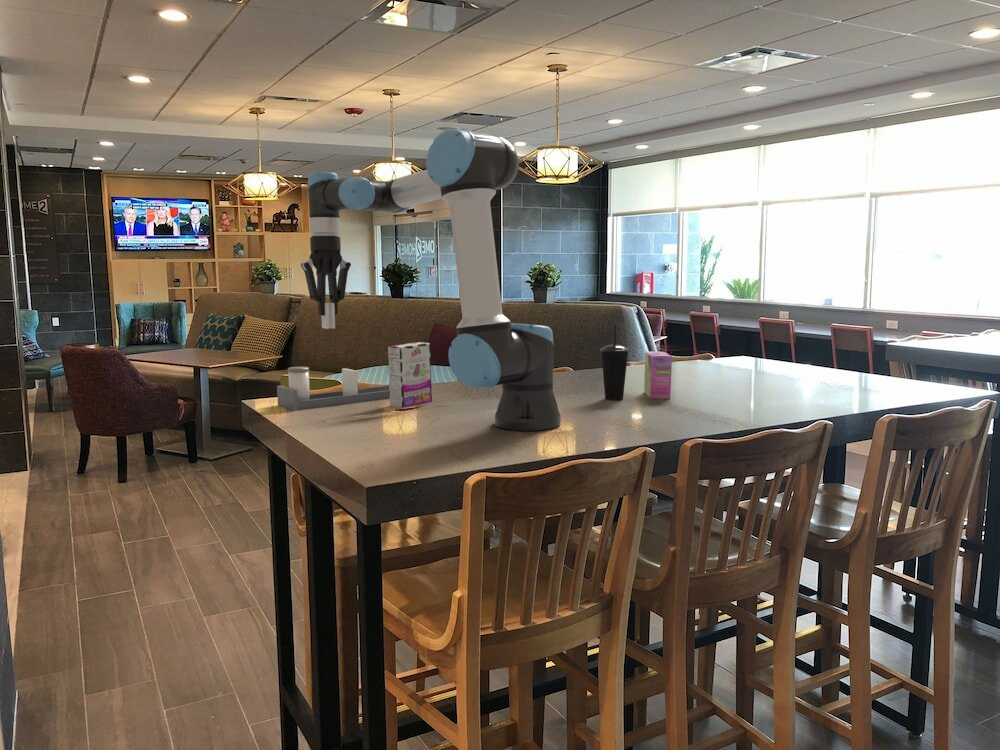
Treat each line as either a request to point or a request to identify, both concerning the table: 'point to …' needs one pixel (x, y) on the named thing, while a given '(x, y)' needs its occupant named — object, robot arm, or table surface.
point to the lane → (329, 397)
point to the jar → (299, 382)
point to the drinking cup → (614, 369)
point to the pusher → (349, 382)
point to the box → (657, 375)
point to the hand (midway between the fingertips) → (328, 328)
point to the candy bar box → (409, 375)
